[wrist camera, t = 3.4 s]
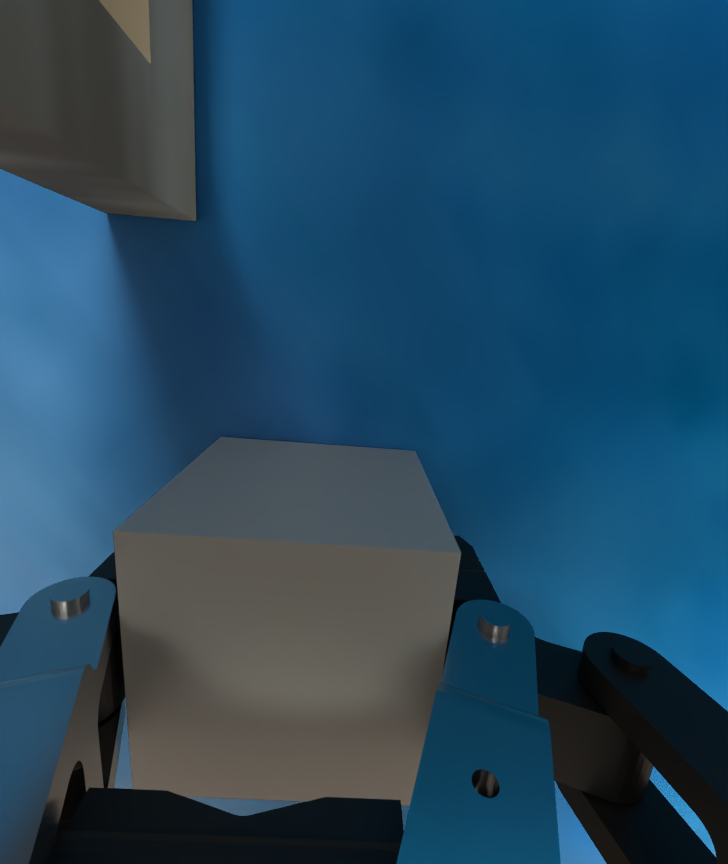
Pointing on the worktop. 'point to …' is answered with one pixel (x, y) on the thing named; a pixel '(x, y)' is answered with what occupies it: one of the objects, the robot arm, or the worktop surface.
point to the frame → (101, 102)
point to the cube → (285, 622)
